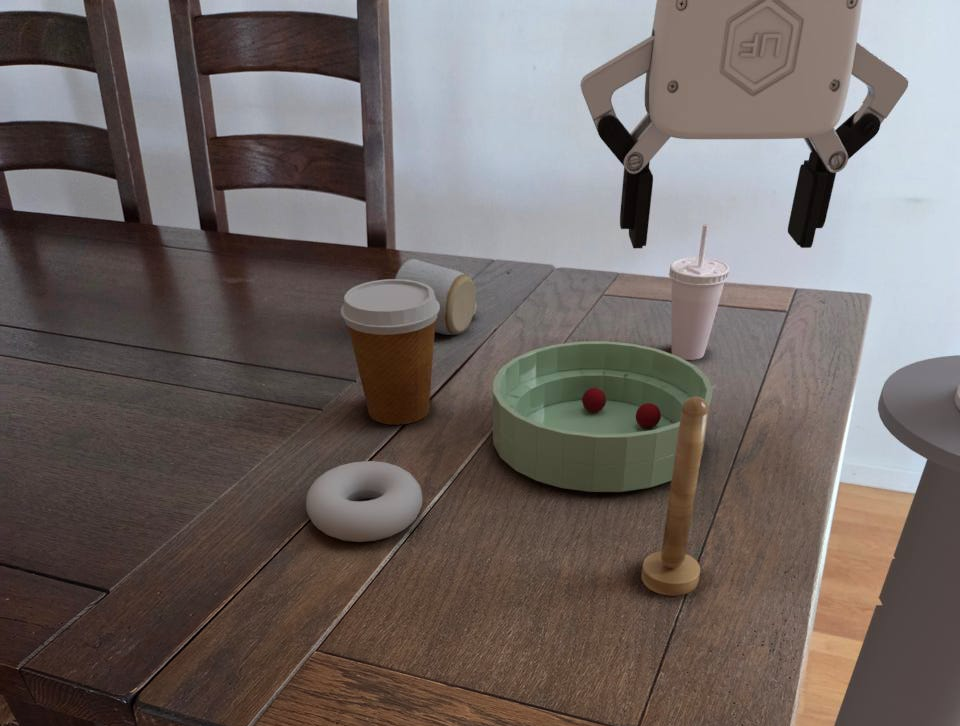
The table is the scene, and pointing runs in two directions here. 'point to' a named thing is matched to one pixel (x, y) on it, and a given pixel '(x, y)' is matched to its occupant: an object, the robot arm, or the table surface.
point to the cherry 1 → (594, 400)
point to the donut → (364, 520)
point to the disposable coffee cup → (393, 346)
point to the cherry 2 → (648, 415)
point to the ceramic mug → (445, 294)
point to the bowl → (593, 414)
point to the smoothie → (695, 300)
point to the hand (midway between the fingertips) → (717, 241)
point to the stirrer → (680, 509)
